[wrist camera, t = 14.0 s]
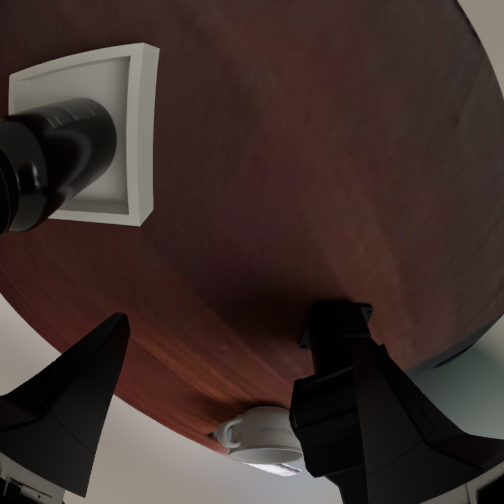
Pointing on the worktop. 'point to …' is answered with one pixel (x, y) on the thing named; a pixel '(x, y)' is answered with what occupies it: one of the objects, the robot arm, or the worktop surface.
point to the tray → (124, 117)
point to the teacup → (261, 437)
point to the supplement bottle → (51, 158)
